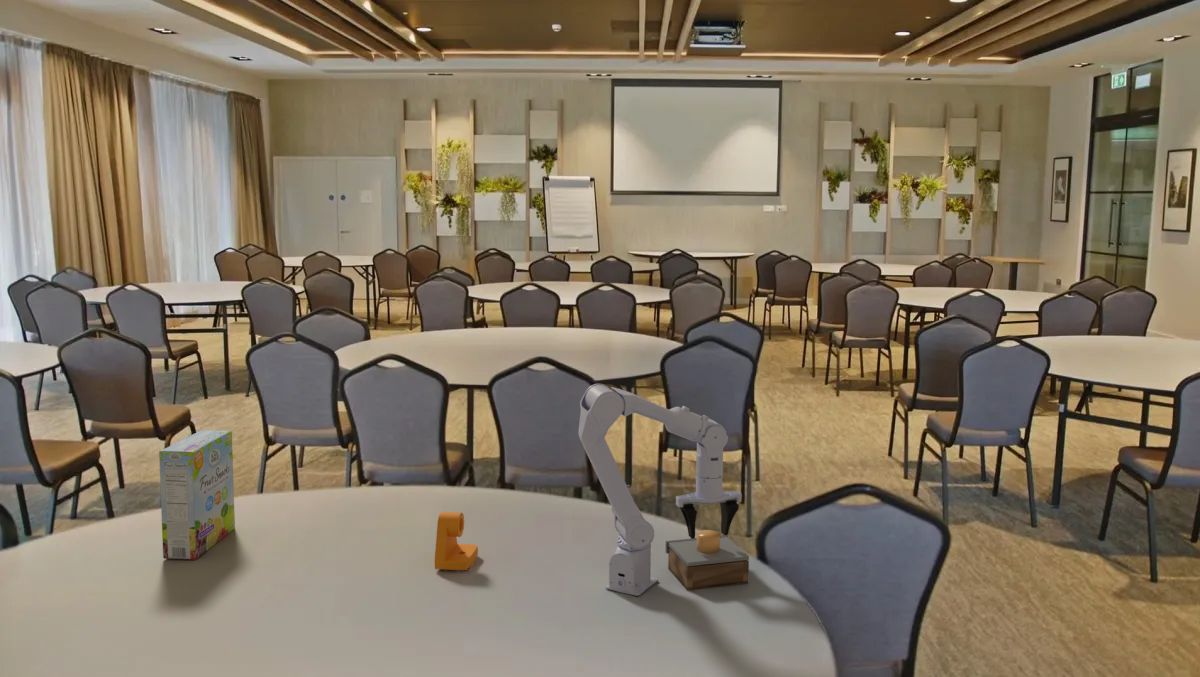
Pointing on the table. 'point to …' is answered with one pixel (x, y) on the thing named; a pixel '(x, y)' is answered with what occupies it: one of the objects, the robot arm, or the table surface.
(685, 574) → the box
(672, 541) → the lid
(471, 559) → the bracket
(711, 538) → the orange rounded block
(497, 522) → the table surface
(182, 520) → the snack box
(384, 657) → the table surface
